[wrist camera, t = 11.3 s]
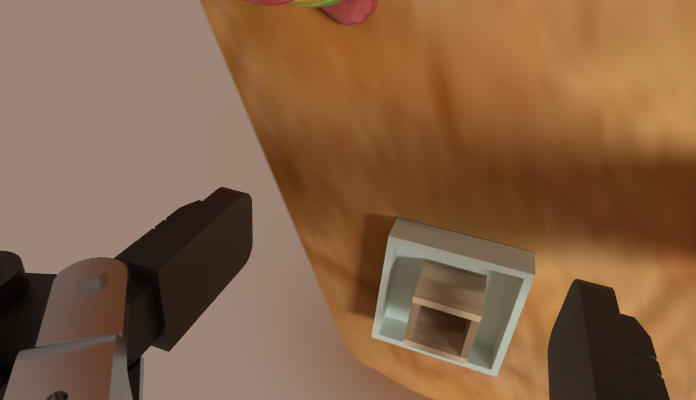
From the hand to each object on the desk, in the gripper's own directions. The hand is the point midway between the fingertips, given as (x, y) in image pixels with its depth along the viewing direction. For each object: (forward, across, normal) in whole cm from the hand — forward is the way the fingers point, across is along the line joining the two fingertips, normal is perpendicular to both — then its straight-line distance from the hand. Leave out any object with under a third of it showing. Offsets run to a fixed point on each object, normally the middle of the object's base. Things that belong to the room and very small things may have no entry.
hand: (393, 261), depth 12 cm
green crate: (+30, -2, +24) cm, 38 cm away
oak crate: (+30, -2, +24) cm, 38 cm away
